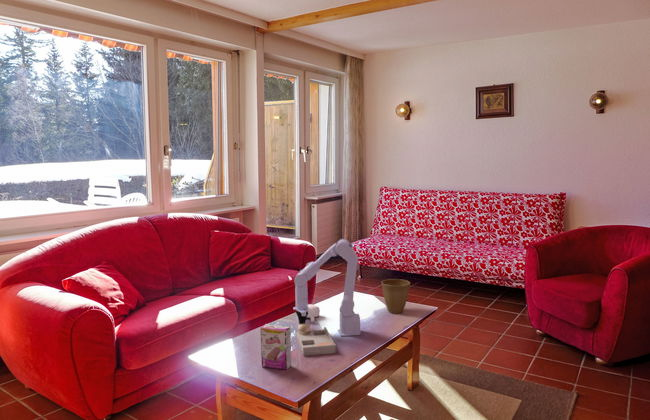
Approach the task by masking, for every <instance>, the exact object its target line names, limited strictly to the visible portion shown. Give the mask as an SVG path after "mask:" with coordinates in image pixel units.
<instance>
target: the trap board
mask: <svg viewBox="0 0 650 420" xmlns="http://www.w3.org/2000/svg"><path fill="white" fill-rule="evenodd" d="M295 336H296V339H297V342H298V345H299V348H300V350H301V352H302V356H303V357H307V356H318V355H327V354H329V355H330V354H336V353H337V344H336V343H335V341H334V339H333V338H332V336H331V334H330V332H329V331H328V329H327V327H325V326H324V327H323V328H322V329H314V330H313V329H310V334H308V335H300V334H299V333H298V331H296V332H295Z"/></svg>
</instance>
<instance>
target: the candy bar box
mask: <svg viewBox="0 0 650 420" xmlns="http://www.w3.org/2000/svg"><path fill="white" fill-rule="evenodd" d="M291 334H292V332H291V326H284V325H276V324H268V323H265V324H264V325H263V326H261V327H260V346H261V347H260V349H261V352H260V353H261V355H260V356H261V367H262V368H270V369H275V370H283V371H288V369H290V367H291V366H292V342H291V341H292V340H291V338H292V336H291Z"/></svg>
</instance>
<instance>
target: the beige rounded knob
mask: <svg viewBox="0 0 650 420" xmlns="http://www.w3.org/2000/svg"><path fill="white" fill-rule="evenodd" d="M297 330H298V331H297V332H298V333H299V334H300V335H308V334H310V330H311V325H310V323H305V324H298V326H297Z"/></svg>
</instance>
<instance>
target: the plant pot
mask: <svg viewBox="0 0 650 420" xmlns="http://www.w3.org/2000/svg"><path fill="white" fill-rule="evenodd" d="M410 287H411V282H410V281H408V280H407V279H399V278H389V279H384V280H382V281H381V288H382V289H381V290H382V293H383V299H384V302H385V305H386V307H387V311H388V312H389V314H395V315H396V314H402V313H403V312H404V309H405V306H406V304H407V301H408V296H409V292H410Z"/></svg>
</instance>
